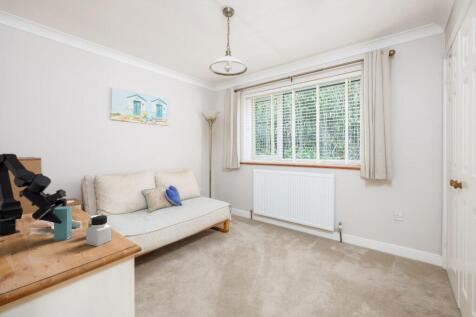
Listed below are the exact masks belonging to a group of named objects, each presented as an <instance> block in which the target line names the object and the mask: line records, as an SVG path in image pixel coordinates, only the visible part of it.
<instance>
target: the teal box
mask: <svg viewBox="0 0 476 317" xmlns="http://www.w3.org/2000/svg"><path fill="white" fill-rule="evenodd" d="M54 214H55V215H56V216H57V217H58V218H59V219H60V220H61V221H62V223H61V224H57V223H54V230H53V239H54V240H58V239H67V238H69V237H70V236H71V235H72V236H73V233H72V232H73V231H72V218H73V206H71V205H69V206H67V205H66V206H64V207H58V208H56V209H54ZM54 240H53V241H54Z"/></svg>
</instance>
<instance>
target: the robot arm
mask: <svg viewBox="0 0 476 317" xmlns="http://www.w3.org/2000/svg"><path fill="white" fill-rule="evenodd" d="M9 171H10V172H11V174H12V175H13V177H14V178H13V183H14V185H15V186H16V187H17V188H23V189H22V190H20V191H19V195H18V196H19V198H23V197H25V198H26V199H27V200H28V201H29V202H31V204H30V206H32V207H34V206H35V207H37V209H36V210H35V211H34V212H33V213H32V214H31V218H32V219H34V220H35V221H37V220H38V221H44V222H49V223H51V222H53V223H57V224H61V223H62V221H61V220H60V219H59V218H58V217H57V216H56V215H55V214H54V209H56V208H58V207H64V206H67V204H68V200H67V199H66V198H65V197H67V194H66V193H67V191H66V190H64V189H62V188H59V189H57V190H56V191H55V192H54V193H53V194H51V193H45V192H44V191H45V190H46V189H47V188H48V187H49V185H50V184H51V183H52V179H51V178H49V177H48V176H46V175H44V174H43V173H36V172H33V171H31V170H29V169H27V168H26V167H25V166H24V165H23V163H22V162H21V161H20V160H19V158H18V155H17V154H15V153H1V154H0V237H5V236H9V235H12V234H16V233H20V232H21V231H20V230H18V229H17V220H21V219H22V217H23V213H24V209H23V207H22V204H21V200H17V199H15V196H14V192H13V187H12V182H11V181H12V180H11V177H10V173H9Z"/></svg>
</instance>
